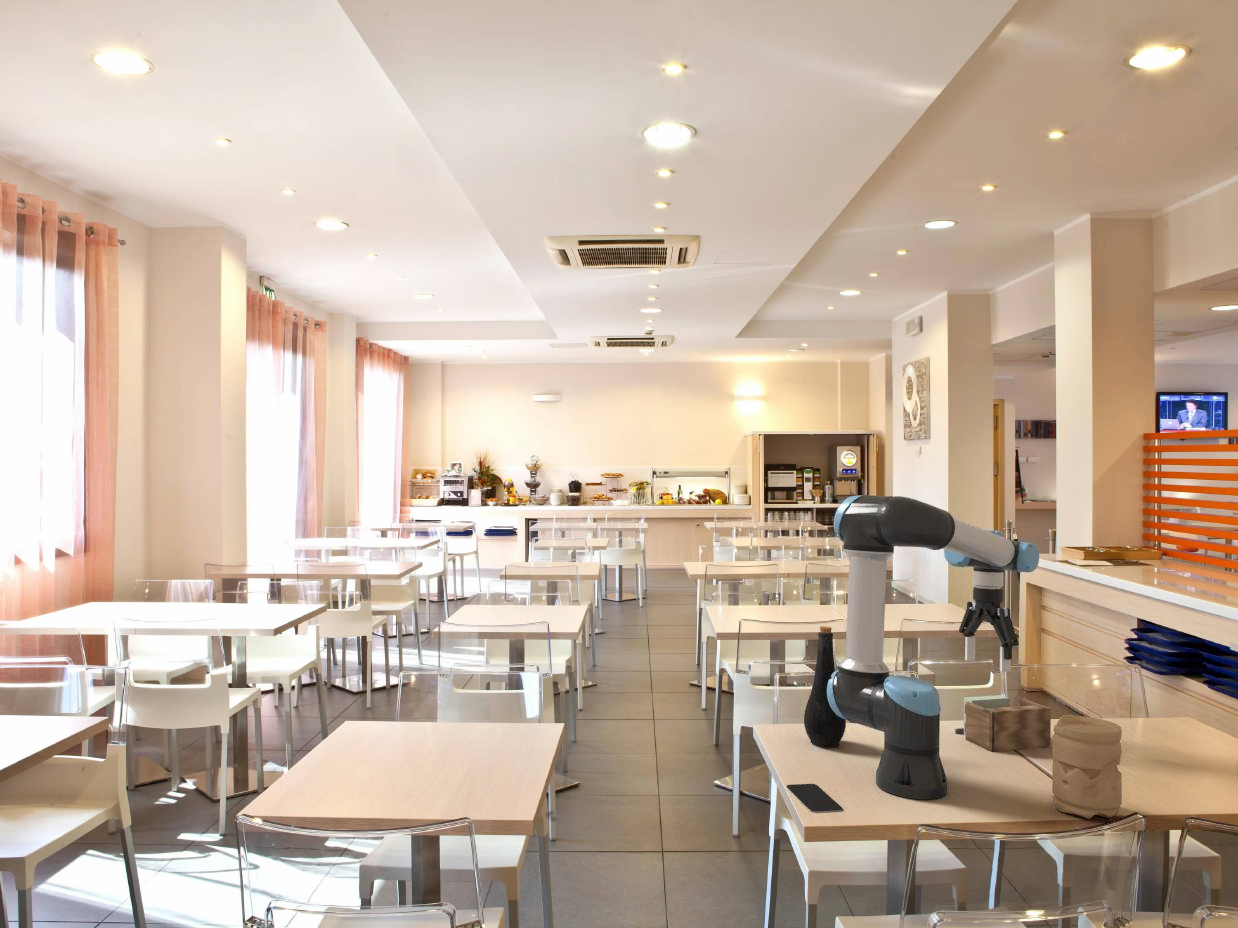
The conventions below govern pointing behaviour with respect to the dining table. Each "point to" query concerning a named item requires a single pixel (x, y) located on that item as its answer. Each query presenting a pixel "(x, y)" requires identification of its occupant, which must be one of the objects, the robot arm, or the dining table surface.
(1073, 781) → the container
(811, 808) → the smartphone
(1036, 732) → the cabinet
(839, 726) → the bottle
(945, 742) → the dining table surface
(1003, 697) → the door
